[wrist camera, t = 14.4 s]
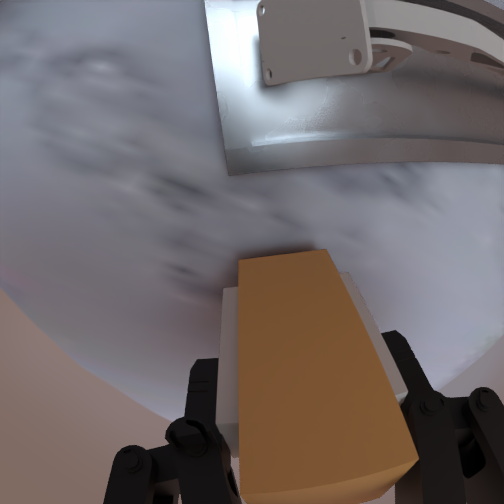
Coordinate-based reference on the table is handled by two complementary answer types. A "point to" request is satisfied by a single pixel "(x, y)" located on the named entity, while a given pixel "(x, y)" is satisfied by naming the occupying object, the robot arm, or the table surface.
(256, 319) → the tan rectangular block
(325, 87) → the tray
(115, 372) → the table surface
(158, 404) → the table surface
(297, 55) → the bracket
